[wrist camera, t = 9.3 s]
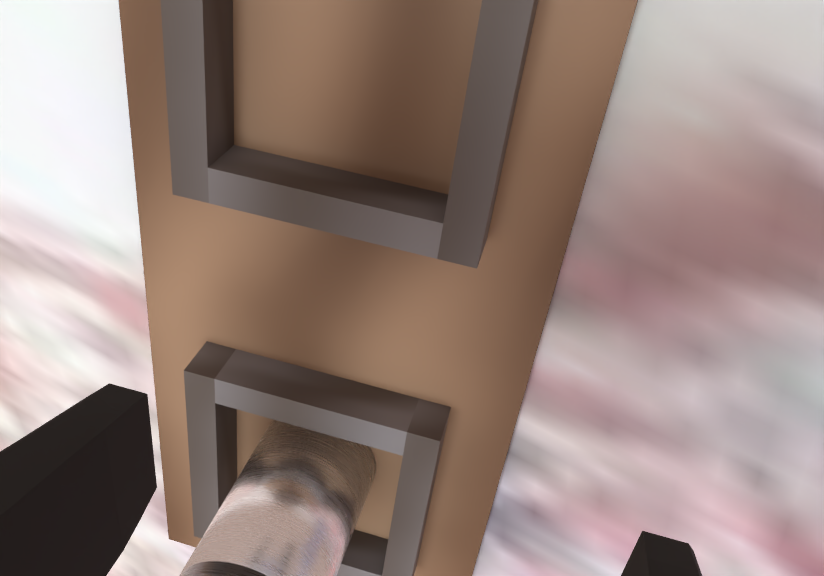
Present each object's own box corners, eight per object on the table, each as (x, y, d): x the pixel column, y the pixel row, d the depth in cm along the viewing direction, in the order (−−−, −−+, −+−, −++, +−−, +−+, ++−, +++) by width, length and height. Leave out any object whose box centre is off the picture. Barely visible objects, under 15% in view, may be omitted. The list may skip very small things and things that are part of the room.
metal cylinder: (382, 430, 24) (296, 642, 18) (369, 511, 26) (288, 724, 20) (265, 396, 25) (142, 592, 18) (262, 479, 27) (152, 678, 21)
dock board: (716, -278, 13) (726, -288, 12) (459, 616, 29) (448, 664, 28) (99, -364, 15) (33, -384, 13) (175, 528, 31) (149, 570, 29)
